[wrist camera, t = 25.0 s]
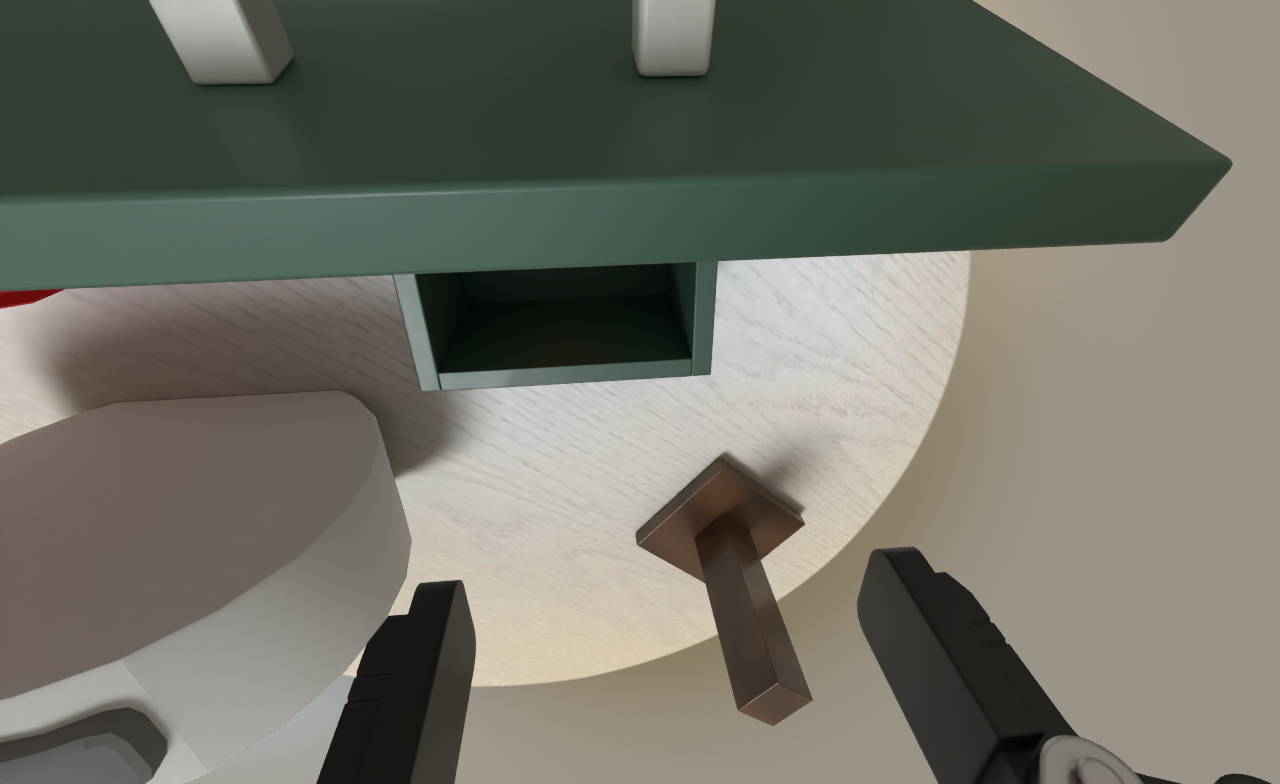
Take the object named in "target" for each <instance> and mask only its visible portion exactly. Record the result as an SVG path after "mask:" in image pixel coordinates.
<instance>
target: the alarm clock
mask: <svg viewBox="0 0 1280 784" xmlns="http://www.w3.org/2000/svg"><path fill="white" fill-rule="evenodd" d="M411 542H412V540H411V536H410V532H409V528H408V524H407V520H406V516H405V513H404V509H403V506H402V502H401V499H400V496H399V492H398V489H397V486H396V482H395V479H394V476H393V472H392V469H391V465H390V462H389V459H388V455H387V452H386V449H385V445H384V442H383V439H382V435H381V432H380V429H379V425H378V422H377V419H376V417H375V416H374V415H373V414H372V413H371V412H370V411H369V410H368V409H367V408H366V406H365V405H364V404H363V403H362V402H361V401H360V400H359V399H358V398H356V397H354V396H352V395H350V394H348V393H345V392H343V391H338V390H331V391H314V392H296V393H278V394H260V395H243V396H225V397H207V398H189V399H171V400H154V401H136V402H119V403H114V404H110V405H107V406H103V407H100V408H96V409H93V410H89V411H86V412H82V413H80V414H77V415H74V416H72V417H69V418H66V419H64V420H61V421H58V422H56V423H53V424H50V425H48V426H45V427H42V428H39V429H37V430H34V431H31V432H29V433H26V434H23V435H21V436H18V437H16V438H14V439H11V440H9V441H7V442H5V443H3V444H1V445H0V784H185V783H187V782H190V781H192V780H194V779H196V778H199V777H201V776H203V775H205V774H208V773H210V772H212V771H213V770H215V769H216V768H218V767H220V766H221V765H223V764H224V763H226V762H227V761H229V760H230V759H232V758H233V757H235V756H237V755H238V754H240V753H241V752H243V751H244V750H246V749H248V748H249V747H251V746H252V745H254V744H255V743H257V742H258V741H260V740H261V739H263V738H265V737H266V736H268V735H269V734H271V733H272V732H274V731H276V730H277V729H279V728H280V727H282V726H283V725H285V724H286V723H287V722H289V721H290V720H291V719H292V718H293V717H294V716H295V715H297V714H298V713H299V712H300V711H301V710H302V709H303V708H304V707H305V706H307V705H308V704H309V703H310V702H311V701H312V700H313V699H315V698H316V697H317V696H318V695H319V694H320V693H321V692H323V691H324V690H325V689H326V688H327V687H328V686H329V685H330V684H331V683H333V682H334V681H335V680H336V679H337V678H338V677H339V676H341V675H342V674H343V673H344V672H345V671H346V670H347V668H348V667H349V666H350V665H351V663H352V662H353V661H354V660H355V658H356V657H357V656H358V655H359V653H360V652H361V651H362V650H363V648H364V647H365V646H366V644H367V642H368V641H369V640H370V638H371V637H372V636H373V635H374V633H375V632H376V631H377V630H378V628H379V627H380V626H381V625H382V623H383V622H384V621H385V620H386V618H387V615H388V613H389V611H390V609H391V607H392V605H393V603H394V601H395V599H396V597H397V595H398V593H399V591H400V589H401V587H402V585H403V582H404V580H405V578H406V575H407V568H408V561H409V555H410V548H411Z"/></svg>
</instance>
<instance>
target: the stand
mask: <svg viewBox="0 0 1280 784" xmlns="http://www.w3.org/2000/svg"><path fill="white" fill-rule="evenodd" d="M804 525H805V523H804V521H803V519H802V517H801V515H800V513H798V512H797V511H795V510H794V509H792V508H791V507H790V506H788V505H787V504H785V503H784V502H782V501H781V500H780V499H778V498H777V497H775V496H774V495H772V494H771V493H770V492H768V491H767V490H765V489H764V488H762V487H761V486H760V485H758V484H757V483H755V482H754V481H752V480H751V479H750V478H748V477H747V476H745V475H744V474H742V473H741V472H740V471H738V470H737V469H735V468H734V467H732V466H731V465H730V464H728V463H727V462H725V461H724V460H722V459H721V458H718V459H717V460H716V461H715V462H714V463H713V464H711V465H710V466H709V467H708V468H707V469H706V470H705V471H704V472H703V473H702V474H700V475H699V476H698V477H697V478H696V479H695V480H694V481H693V482H692V483H691V484H689V485H688V486H687V487H686V488H685V489H684V490H683V491H682V492H681V493H680V494H678V495H677V496H676V497H675V498H674V499H673V500H672V501H671V502H670V503H669V504H668V505H666V506H665V507H664V508H663V509H662V510H661V511H660V512H659V513H658V514H657V515H655V516H654V517H653V518H652V519H651V520H650V521H649V522H648V523H647V524H646V525H644V526H643V527H642V528H641V529H640V530H639V531H638V532H637V533H636V541H637V545H638V546H640V547H641V548H643V549H645V550H647V551H649V552H650V553H652V554H654V555H656V556H658V557H659V558H661V559H663V560H665V561H667V562H668V563H670V564H672V565H674V566H675V567H677V568H679V569H681V570H683V571H684V572H686V573H688V574H690V575H692V576H693V577H695V578H697V579H699V580H700V581H702V582H704V583H705V584H706V588H707V592H708V596H709V599H710V603H711V607H712V611H713V615H714V619H715V623H716V627H717V631H718V635H719V639H720V643H721V647H722V651H723V655H724V659H725V662H726V666H727V670H728V674H729V678H730V682H731V686H732V690H733V694H734V698H735V702H736V706H737V710H738V711H740V712H742V713H744V714H746V715H749V716H751V717H753V718H756V719H758V720H760V721H762V722H764V723H767V724H769V725H771V726H774V725H776V724H777V723H779V722H780V721H782V720H783V719H785V718H787V717H788V716H789V715H791V714H793V713H794V712H796V711H797V710H799V709H800V708H802V707H803V706H805V705H806V704H808V703H809V702H811V701H812V700H813V699H812V696H811V693H810V691H809V688H808V685H807V683H806V680H805V678H804V675H803V672H802V669H801V667H800V664H799V662H798V659H797V656H796V653H795V651H794V648H793V646H792V643H791V640H790V638H789V635H788V632H787V630H786V627H785V624H784V622H783V619H782V616H781V614H780V611H779V608H778V606H777V603H776V600H775V598H774V595H773V592H772V590H771V587H770V584H769V582H768V579H767V576H766V574H765V571H764V568H763V566H762V563H761V559H763V558H764V557H765V556H766V555H768V554H769V553H770V552H771V551H773V550H774V549H775V548H776V547H778V546H779V545H780V544H781V543H783V542H784V541H785V540H786V539H788V538H789V537H790V536H791V535H793V534H794V533H795V532H796V531H798V530H799V529H800V528H801V527H803V526H804Z"/></svg>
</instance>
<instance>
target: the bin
mask: <svg viewBox="0 0 1280 784" xmlns="http://www.w3.org/2000/svg"><path fill="white" fill-rule="evenodd" d="M717 265H718V261H707V262H684V263H660V264H637V265H613V266H590V267H566V268H543V269H519V270H496V271H472V272H449V273H425V274H402V275H392V276H393V280H394V284H395V288H396V292H397V296H398V300H399V305H400V309H401V313H402V317H403V321H404V325H405V329H406V333H407V337H408V341H409V345H410V349H411V354H412V358H413V362H414V366H415V370H416V374H417V378H418V382H419V386H420V390H421V392H429V391H441V390H442V391H451V390H467V389H484V388H501V387H518V386H534V385H551V384H568V383H585V382H601V381H618V380H635V379H651V378H668V377H685V376H691V375H692V376H698V375H710V374H711V361H712V345H713V329H714V313H715V297H716V281H717Z"/></svg>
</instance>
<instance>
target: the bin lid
mask: <svg viewBox="0 0 1280 784" xmlns="http://www.w3.org/2000/svg"><path fill="white" fill-rule="evenodd" d="M1232 164H1233V163H1232V161H1231V159H1229V158H1228V157H1226V156H1224V155H1223V154H1221V153H1220V152H1218V151H1216V150H1215V149H1213V148H1211V147H1210V146H1208V145H1207V144H1205V143H1203V142H1202V141H1200V140H1198V139H1197V138H1195V137H1194V136H1192V135H1190V134H1189V133H1187V132H1185V131H1184V130H1182V129H1180V128H1179V127H1177V126H1176V125H1174V124H1172V123H1171V122H1169V121H1168V120H1166V119H1164V118H1163V117H1161V116H1159V115H1158V114H1156V113H1154V112H1153V111H1151V110H1150V109H1148V108H1146V107H1145V106H1143V105H1142V104H1140V103H1138V102H1137V101H1135V100H1133V99H1132V98H1130V97H1128V96H1127V95H1125V94H1124V93H1122V92H1120V91H1119V90H1117V89H1116V88H1114V87H1112V86H1110V85H1109V84H1107V83H1106V82H1104V81H1102V80H1101V79H1099V78H1098V77H1096V76H1094V75H1093V74H1091V73H1090V72H1088V71H1086V70H1085V69H1083V68H1081V67H1080V66H1078V65H1077V64H1075V63H1073V62H1072V61H1070V60H1068V59H1067V58H1065V57H1063V56H1062V55H1060V54H1059V53H1057V52H1055V51H1054V50H1052V49H1050V48H1049V47H1047V46H1045V45H1044V44H1042V43H1041V42H1039V41H1037V40H1036V39H1034V38H1033V37H1031V36H1029V35H1028V34H1026V33H1025V32H1023V31H1021V30H1020V29H1018V28H1016V27H1015V26H1013V25H1012V24H1010V23H1008V22H1007V21H1005V20H1003V19H1002V18H1000V17H998V16H997V15H995V14H994V13H992V12H990V11H989V10H987V9H985V8H984V7H982V6H981V5H979V4H977V3H976V2H974V1H973V0H0V292H3V291H26V290H50V289H73V288H97V287H120V286H144V285H167V284H191V283H214V282H238V281H261V280H284V279H308V278H331V277H355V276H378V275H402V274H425V273H449V272H472V271H496V270H519V269H543V268H566V267H590V266H613V265H637V264H660V263H684V262H707V261H731V260H754V259H778V258H801V257H825V256H848V255H872V254H895V253H919V252H942V251H966V250H988V249H1010V248H1011V249H1013V248H1034V247H1059V246H1082V245H1105V244H1106V245H1107V244H1127V243H1129V244H1130V243H1154V242H1164V241H1166V240H1168V239H1170V238H1171V237H1172V236H1173V235H1174V234H1175V233H1176V231H1177V230H1178V229H1179V228H1180V227H1181V226H1182V225H1183V223H1184V222H1185V221H1186V220H1187V219H1188V218H1189V216H1190V215H1191V214H1192V213H1193V212H1194V211H1195V210H1196V208H1197V207H1198V206H1199V205H1200V204H1201V203H1202V201H1203V200H1204V199H1205V198H1206V196H1208V194H1209V193H1210V192H1211V191H1212V190H1213V189H1214V187H1215V186H1216V185H1217V184H1218V183H1219V182H1220V180H1221V179H1222V178H1223V177H1224V176H1225V175H1226V173H1227V172H1228V171H1229V170H1230V168H1231V166H1232Z"/></svg>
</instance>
